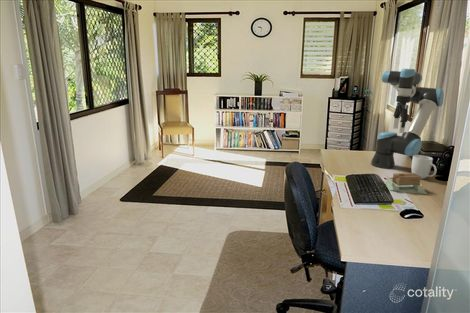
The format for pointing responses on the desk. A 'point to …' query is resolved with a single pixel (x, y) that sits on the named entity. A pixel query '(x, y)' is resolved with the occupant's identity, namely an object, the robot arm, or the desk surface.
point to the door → (406, 179)
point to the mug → (422, 166)
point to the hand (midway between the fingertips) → (398, 130)
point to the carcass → (405, 187)
